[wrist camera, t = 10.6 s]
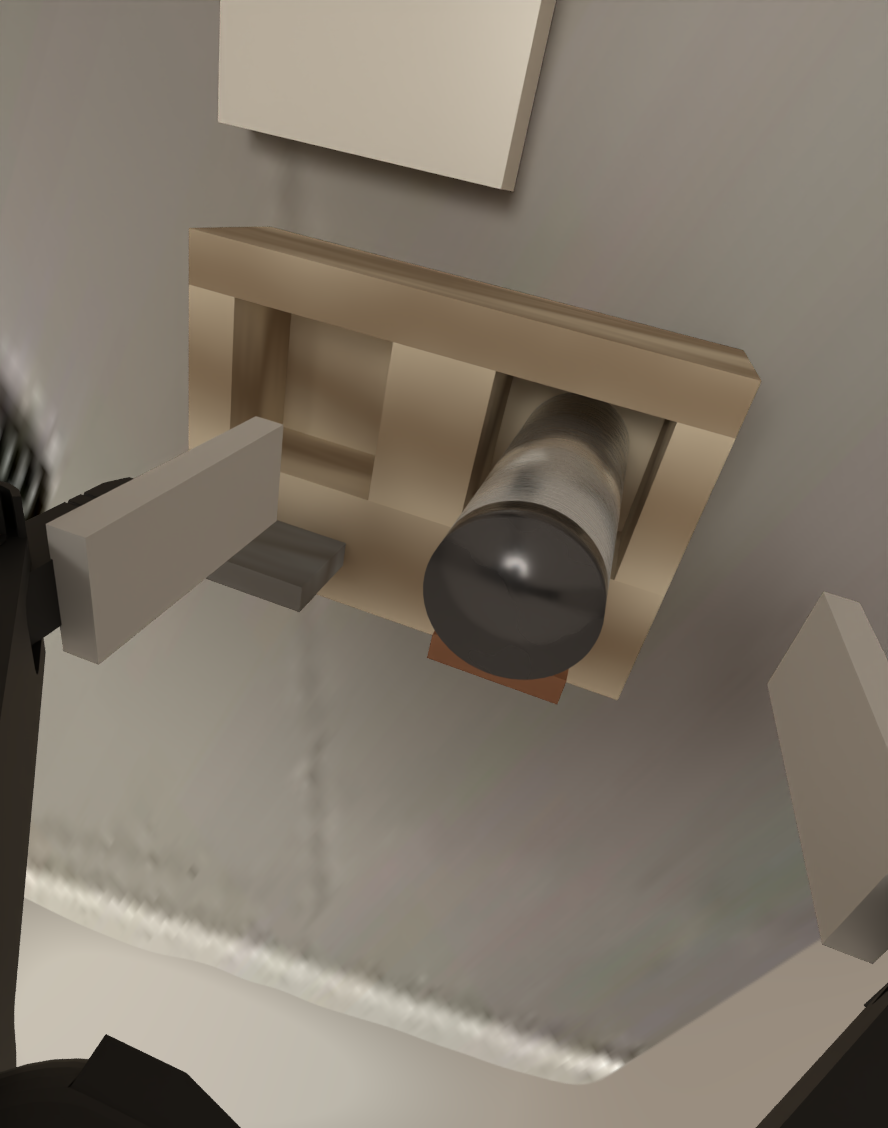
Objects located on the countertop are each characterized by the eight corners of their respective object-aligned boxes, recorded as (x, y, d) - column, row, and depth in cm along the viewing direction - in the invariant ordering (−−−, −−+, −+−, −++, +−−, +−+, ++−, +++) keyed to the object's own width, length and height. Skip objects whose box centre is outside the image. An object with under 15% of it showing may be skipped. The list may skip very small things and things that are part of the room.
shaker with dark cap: (537, 379, 24) (443, 493, 14) (645, 410, 23) (632, 554, 13) (509, 479, 26) (408, 644, 16) (608, 510, 25) (571, 703, 15)
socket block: (269, 226, 25) (109, 229, 18) (743, 350, 22) (779, 412, 15) (253, 504, 31) (129, 590, 24) (624, 628, 28) (610, 767, 21)
